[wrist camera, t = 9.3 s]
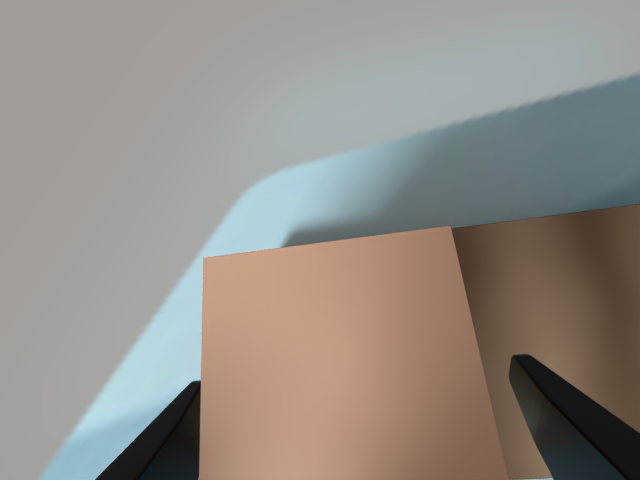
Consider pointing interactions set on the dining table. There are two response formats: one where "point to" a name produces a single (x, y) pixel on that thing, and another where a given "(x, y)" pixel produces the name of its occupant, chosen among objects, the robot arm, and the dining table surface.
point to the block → (344, 364)
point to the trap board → (556, 313)
